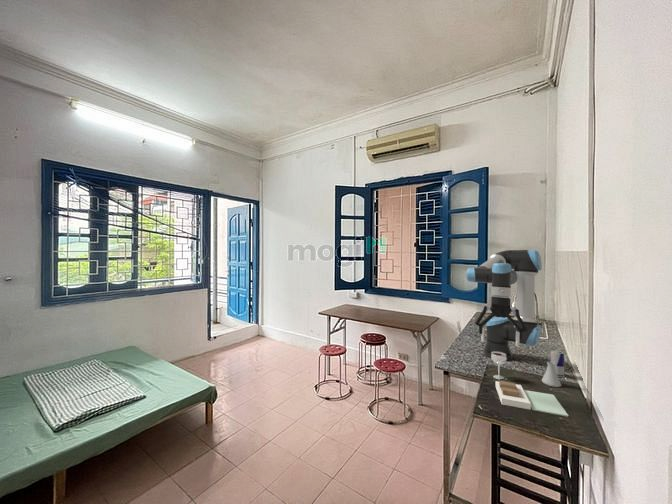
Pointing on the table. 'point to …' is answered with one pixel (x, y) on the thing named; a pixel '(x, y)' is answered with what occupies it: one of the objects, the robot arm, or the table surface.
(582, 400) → the table surface
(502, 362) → the wineglass
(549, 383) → the flask
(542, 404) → the mat
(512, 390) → the walnut tile
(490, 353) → the robot arm
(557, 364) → the energy drink
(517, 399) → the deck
